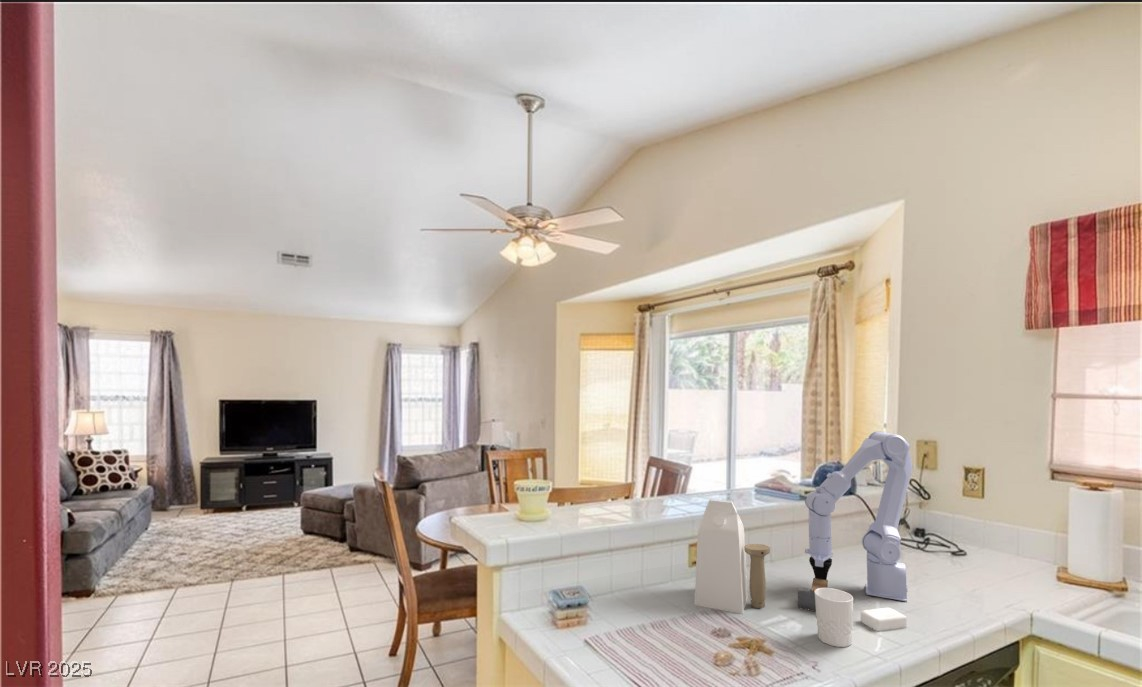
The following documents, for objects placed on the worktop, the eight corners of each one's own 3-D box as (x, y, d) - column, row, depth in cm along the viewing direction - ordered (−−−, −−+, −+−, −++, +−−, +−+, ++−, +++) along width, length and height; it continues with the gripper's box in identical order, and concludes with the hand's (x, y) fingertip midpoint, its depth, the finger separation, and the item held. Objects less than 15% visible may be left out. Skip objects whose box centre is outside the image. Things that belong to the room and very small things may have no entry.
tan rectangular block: (813, 591, 146) (813, 577, 146) (828, 593, 144) (827, 580, 145) (811, 604, 137) (810, 590, 138) (826, 607, 136) (826, 593, 136)
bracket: (799, 598, 141) (799, 581, 141) (840, 606, 136) (839, 588, 137) (797, 607, 135) (797, 590, 135) (839, 616, 131) (839, 597, 131)
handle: (774, 609, 134) (773, 549, 135) (751, 611, 133) (751, 550, 134) (763, 601, 139) (762, 543, 140) (741, 603, 137) (741, 544, 138)
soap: (889, 618, 130) (888, 606, 130) (908, 628, 125) (908, 615, 125) (859, 622, 128) (858, 609, 128) (877, 633, 123) (877, 619, 123)
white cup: (808, 632, 122) (807, 587, 123) (840, 631, 123) (839, 587, 123) (827, 649, 114) (826, 602, 115) (862, 648, 115) (861, 601, 116)
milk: (747, 596, 142) (746, 498, 144) (742, 613, 131) (741, 508, 133) (702, 588, 147) (702, 494, 149) (694, 604, 136) (693, 502, 138)
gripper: (806, 527, 156) (807, 574, 155) (802, 540, 143) (803, 591, 142) (833, 530, 152) (834, 578, 151) (831, 544, 140) (832, 597, 139)
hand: (821, 585), depth 146 cm, fingers closed
